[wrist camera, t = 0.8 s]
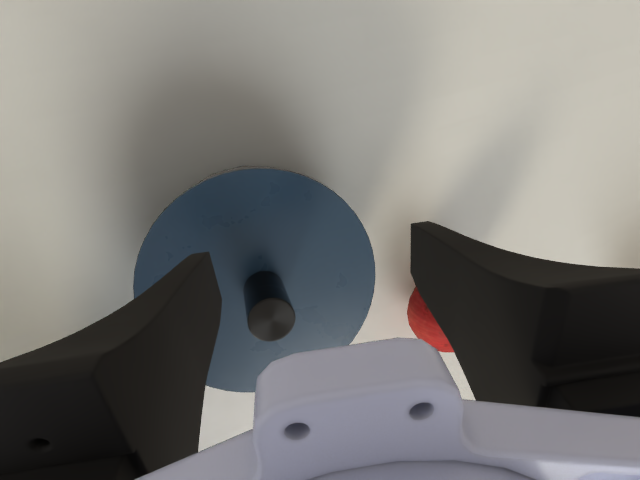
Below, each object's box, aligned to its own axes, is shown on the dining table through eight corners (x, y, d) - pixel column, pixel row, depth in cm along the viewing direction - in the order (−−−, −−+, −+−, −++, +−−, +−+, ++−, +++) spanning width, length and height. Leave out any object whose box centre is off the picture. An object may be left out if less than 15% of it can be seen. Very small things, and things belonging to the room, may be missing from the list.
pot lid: (323, 398, 27) (344, 455, 22) (108, 359, 22) (77, 419, 18) (402, 212, 24) (445, 231, 20) (179, 127, 20) (166, 125, 15)
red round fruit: (386, 274, 32) (437, 317, 24) (447, 254, 33) (514, 290, 25) (397, 332, 33) (447, 389, 26) (454, 312, 34) (518, 362, 27)
